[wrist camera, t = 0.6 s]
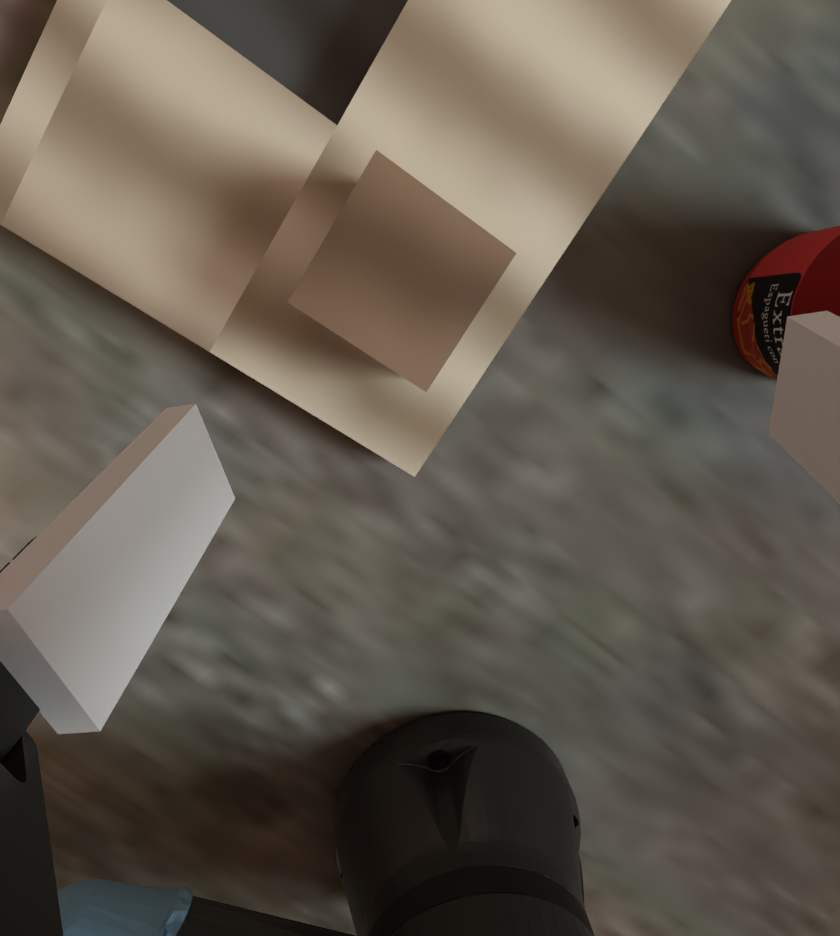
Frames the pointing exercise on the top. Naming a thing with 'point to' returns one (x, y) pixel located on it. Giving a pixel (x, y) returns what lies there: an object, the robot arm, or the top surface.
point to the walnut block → (401, 273)
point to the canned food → (786, 294)
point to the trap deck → (325, 162)
